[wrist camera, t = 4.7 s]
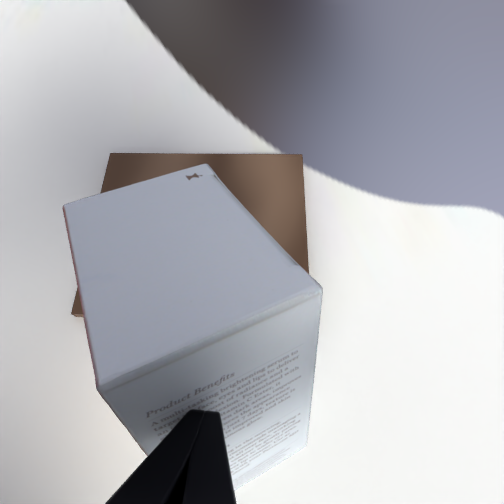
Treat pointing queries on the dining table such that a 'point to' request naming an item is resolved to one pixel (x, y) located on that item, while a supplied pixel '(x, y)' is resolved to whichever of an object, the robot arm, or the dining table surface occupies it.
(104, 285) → the small box
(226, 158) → the walnut board
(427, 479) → the dining table surface
